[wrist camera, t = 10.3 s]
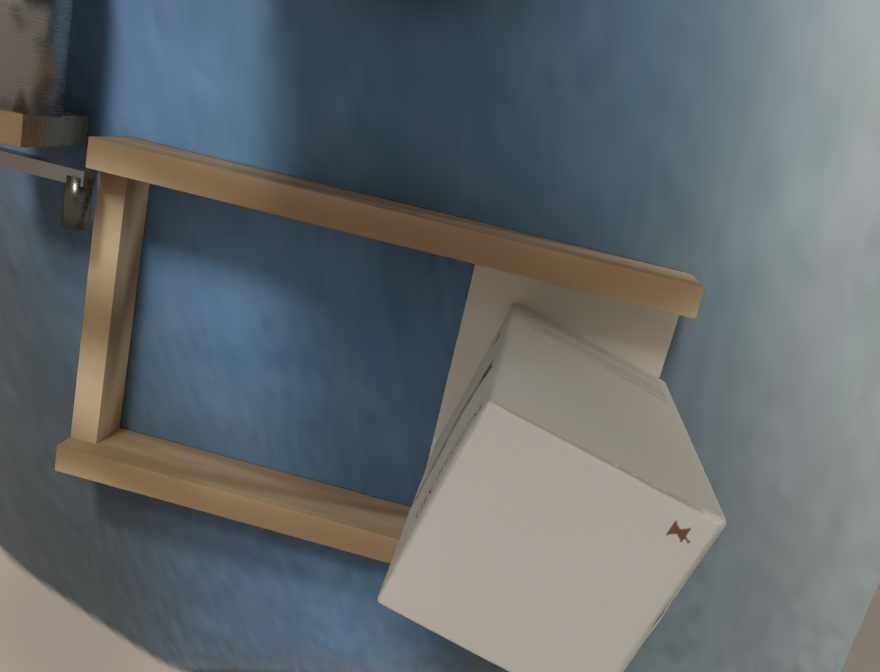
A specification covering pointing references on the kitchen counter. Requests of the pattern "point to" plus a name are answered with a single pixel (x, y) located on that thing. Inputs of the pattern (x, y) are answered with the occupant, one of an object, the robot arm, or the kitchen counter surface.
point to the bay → (143, 163)
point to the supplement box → (554, 508)
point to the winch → (41, 99)
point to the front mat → (585, 314)
